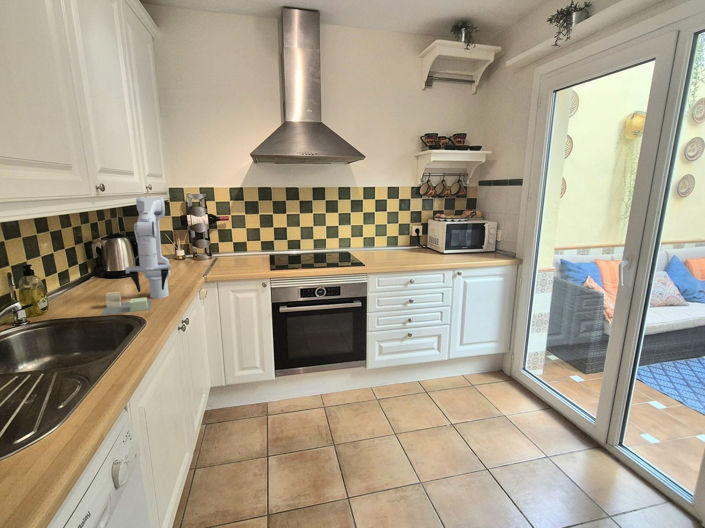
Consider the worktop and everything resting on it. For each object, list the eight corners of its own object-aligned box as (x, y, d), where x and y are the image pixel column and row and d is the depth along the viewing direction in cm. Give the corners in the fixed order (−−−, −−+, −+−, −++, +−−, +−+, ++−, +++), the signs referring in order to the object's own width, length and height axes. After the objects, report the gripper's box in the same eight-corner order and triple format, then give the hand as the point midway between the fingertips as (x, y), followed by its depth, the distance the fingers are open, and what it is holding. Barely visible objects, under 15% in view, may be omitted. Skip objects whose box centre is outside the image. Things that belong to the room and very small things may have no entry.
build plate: (106, 305, 142) (106, 304, 141) (151, 300, 149) (151, 299, 149) (101, 317, 129) (101, 315, 129) (150, 311, 136) (150, 309, 136)
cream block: (108, 304, 141) (106, 293, 140) (121, 303, 143) (120, 291, 142) (106, 308, 137) (105, 295, 136) (120, 306, 139) (118, 294, 138)
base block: (131, 307, 138) (130, 299, 138) (147, 305, 141) (146, 297, 140) (130, 311, 134) (129, 302, 133) (147, 309, 136) (146, 301, 136)
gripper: (123, 257, 120) (127, 295, 123) (170, 255, 127) (173, 290, 130) (125, 254, 126) (128, 290, 129) (169, 252, 133) (172, 286, 136)
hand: (151, 290), depth 130 cm, fingers open, 7 cm apart
